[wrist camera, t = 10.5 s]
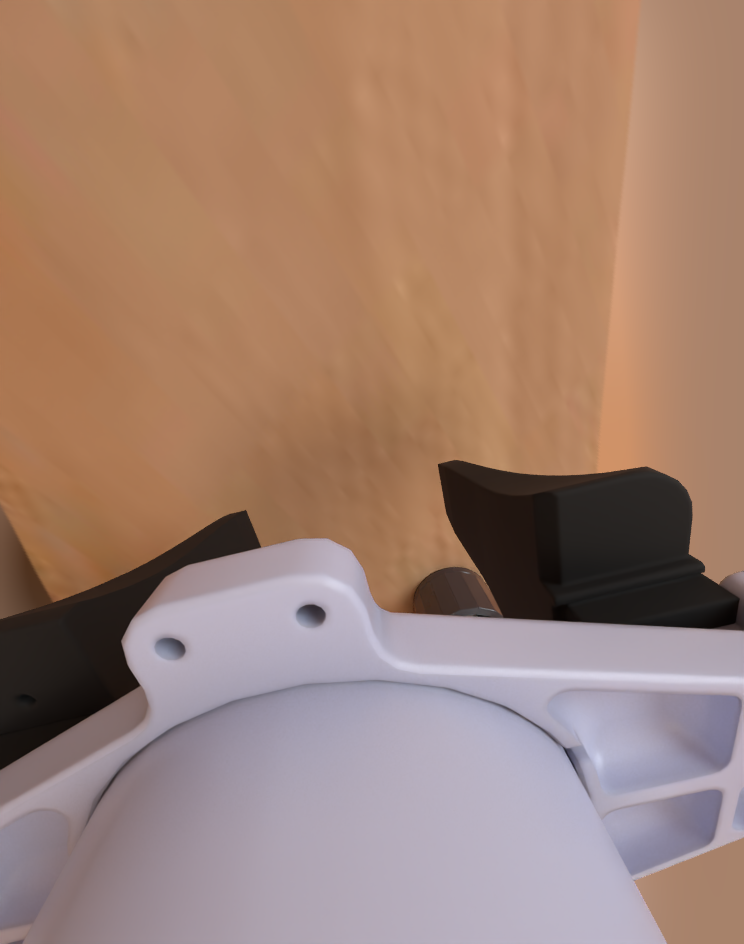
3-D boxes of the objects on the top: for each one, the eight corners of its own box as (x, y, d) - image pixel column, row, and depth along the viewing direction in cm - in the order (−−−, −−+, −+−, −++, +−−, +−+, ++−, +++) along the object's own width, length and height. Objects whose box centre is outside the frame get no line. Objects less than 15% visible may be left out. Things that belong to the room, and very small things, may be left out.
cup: (452, 640, 29) (471, 691, 24) (397, 606, 27) (407, 654, 23) (502, 591, 27) (531, 635, 23) (448, 553, 26) (469, 592, 22)
